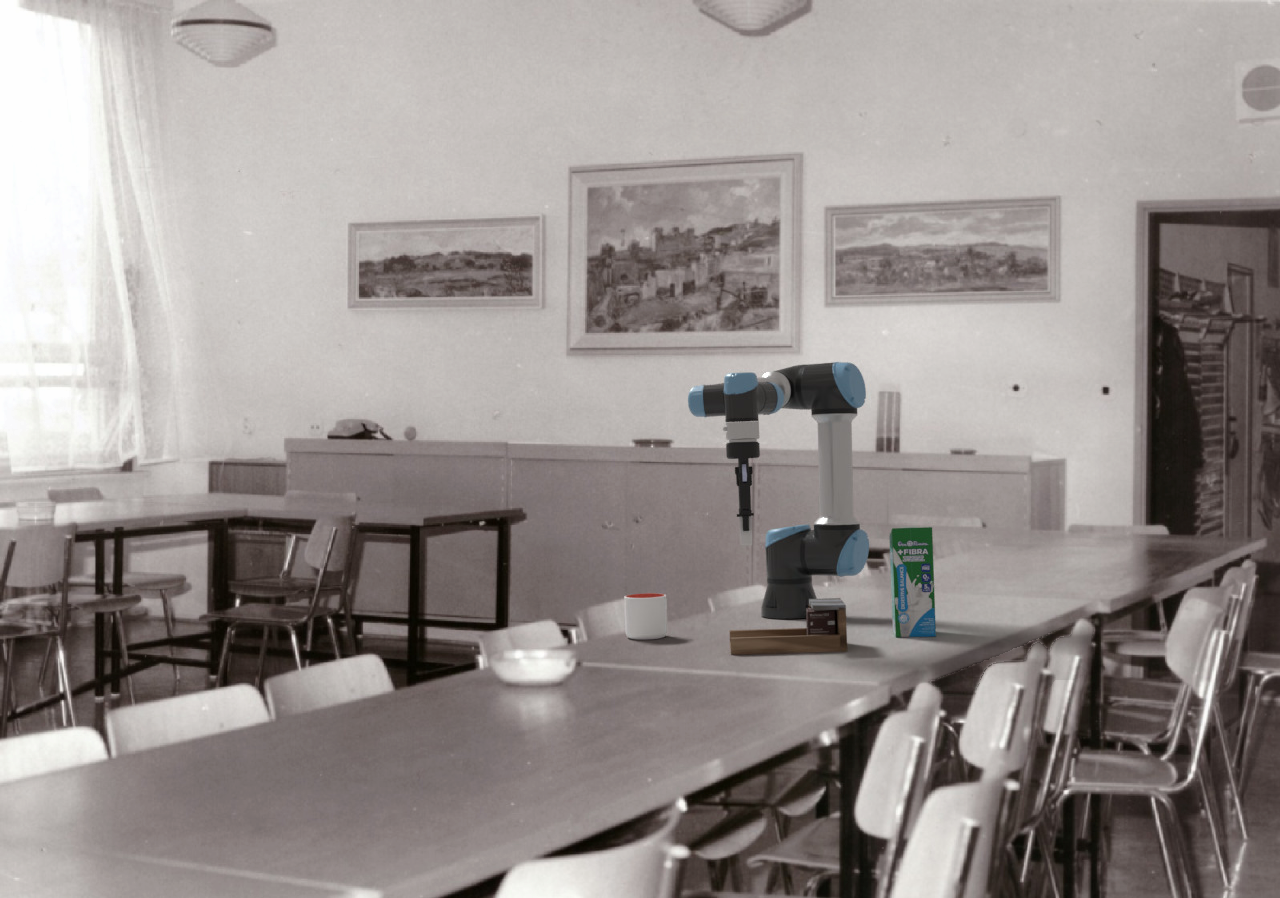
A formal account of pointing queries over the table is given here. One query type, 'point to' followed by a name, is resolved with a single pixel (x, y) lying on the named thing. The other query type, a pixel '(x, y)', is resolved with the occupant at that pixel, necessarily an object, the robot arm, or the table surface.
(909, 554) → the milk carton
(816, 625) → the box
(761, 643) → the channel
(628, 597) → the cup
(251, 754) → the table surface
